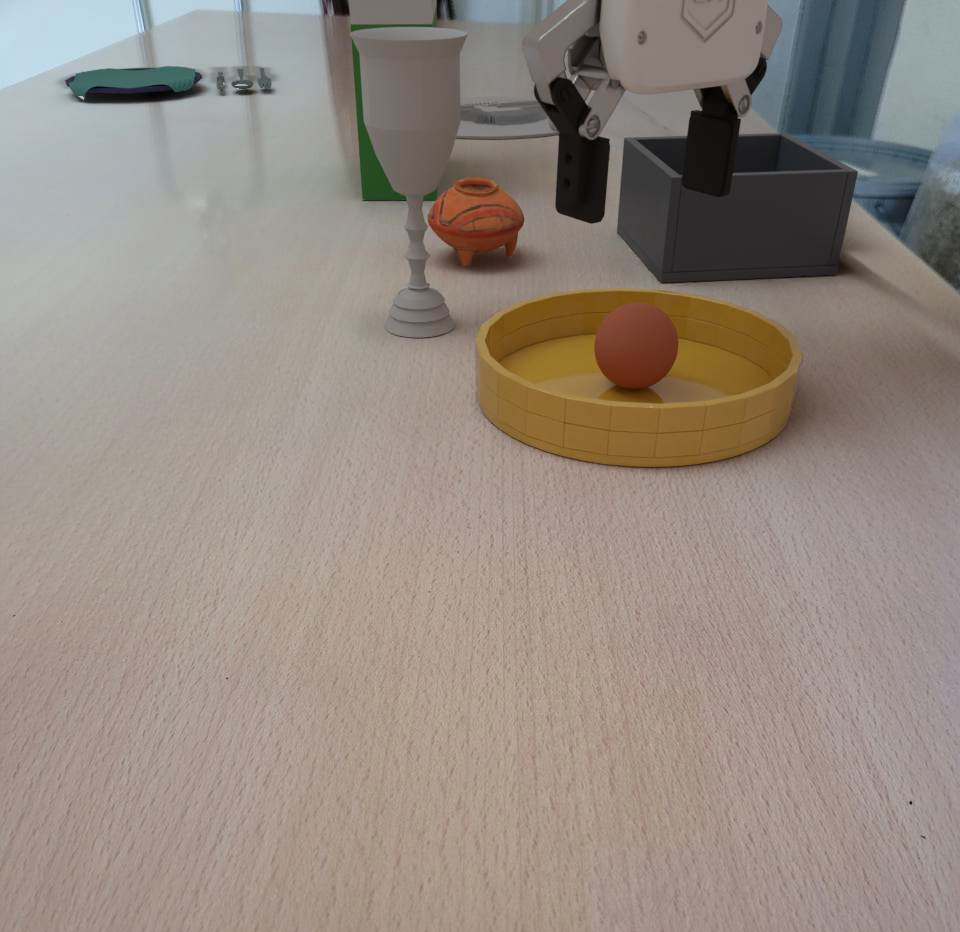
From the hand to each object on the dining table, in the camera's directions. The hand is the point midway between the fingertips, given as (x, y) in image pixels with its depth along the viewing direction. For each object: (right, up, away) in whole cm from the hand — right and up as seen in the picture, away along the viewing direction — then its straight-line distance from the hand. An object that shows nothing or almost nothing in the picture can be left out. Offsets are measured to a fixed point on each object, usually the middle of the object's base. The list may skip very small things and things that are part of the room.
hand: (644, 204), depth 55 cm
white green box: (-17, +25, +52) cm, 60 cm away
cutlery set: (-56, +59, +97) cm, 126 cm away
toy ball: (0, -6, +5) cm, 8 cm away
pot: (-9, +8, +29) cm, 32 cm away
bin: (+12, +9, +31) cm, 34 cm away
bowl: (0, -9, +7) cm, 11 cm away
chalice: (-13, -2, +17) cm, 22 cm away
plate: (-8, +46, +79) cm, 92 cm away
